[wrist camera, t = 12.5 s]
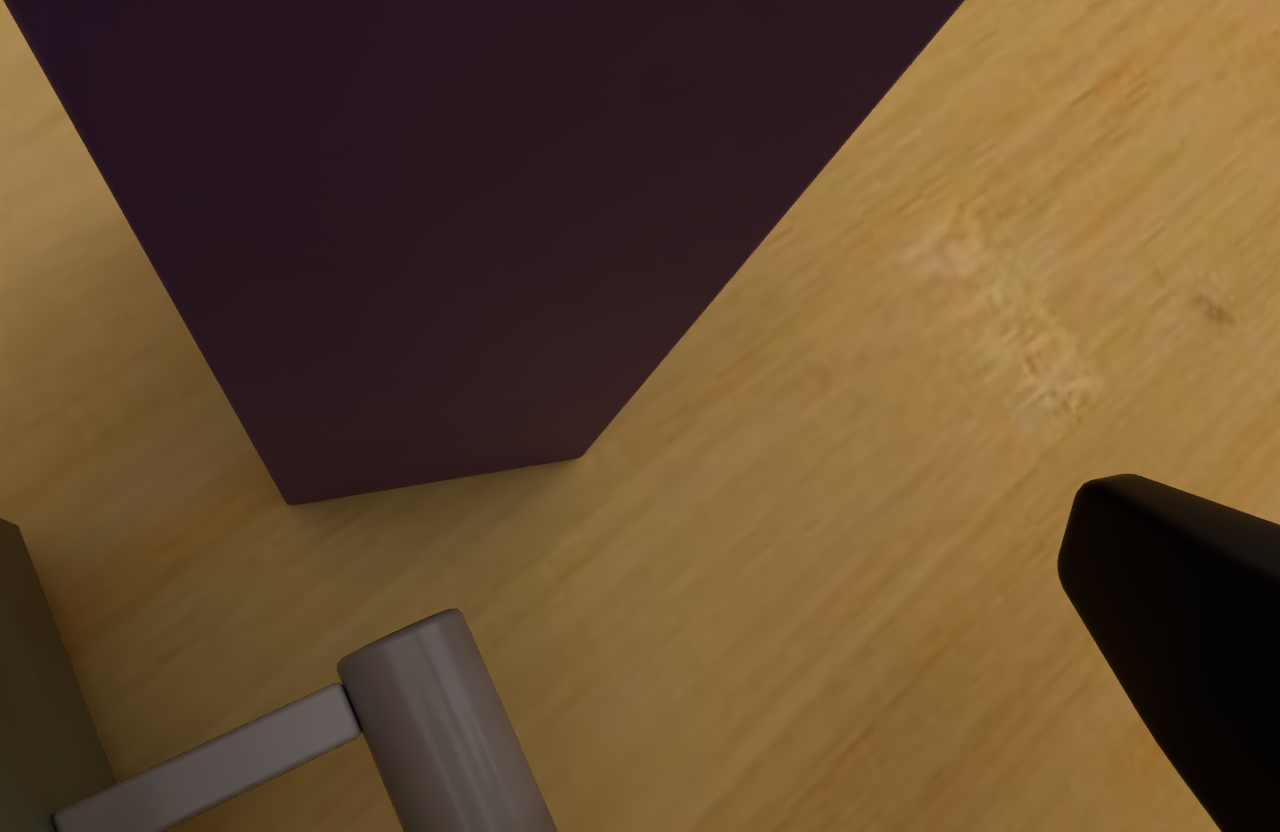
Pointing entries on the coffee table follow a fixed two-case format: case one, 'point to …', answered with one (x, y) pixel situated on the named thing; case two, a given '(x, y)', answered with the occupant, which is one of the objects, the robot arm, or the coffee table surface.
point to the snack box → (455, 197)
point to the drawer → (262, 733)
